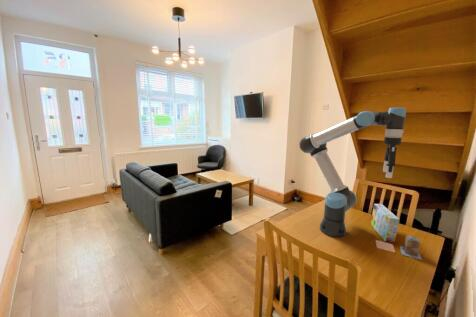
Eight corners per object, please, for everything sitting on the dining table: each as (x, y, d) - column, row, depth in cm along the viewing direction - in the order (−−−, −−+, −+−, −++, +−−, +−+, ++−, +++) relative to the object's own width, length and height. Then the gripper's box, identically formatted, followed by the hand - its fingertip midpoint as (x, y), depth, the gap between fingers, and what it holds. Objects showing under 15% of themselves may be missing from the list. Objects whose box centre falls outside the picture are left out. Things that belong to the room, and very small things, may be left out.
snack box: (396, 243, 117) (400, 219, 114) (385, 242, 118) (389, 218, 115) (379, 224, 138) (382, 203, 135) (369, 223, 139) (372, 202, 136)
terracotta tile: (376, 248, 113) (377, 247, 113) (375, 240, 120) (375, 240, 120) (394, 252, 109) (395, 252, 109) (392, 244, 116) (392, 244, 116)
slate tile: (402, 254, 108) (402, 254, 108) (399, 246, 114) (399, 245, 114) (421, 260, 104) (422, 259, 104) (417, 251, 111) (418, 250, 111)
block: (405, 253, 108) (408, 239, 106) (403, 248, 112) (406, 234, 111) (417, 256, 106) (420, 242, 104) (415, 251, 110) (418, 237, 108)
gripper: (406, 139, 99) (399, 181, 103) (397, 135, 120) (392, 170, 125) (387, 138, 103) (381, 179, 107) (382, 134, 124) (377, 169, 128)
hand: (387, 174), depth 116 cm, fingers open, 13 cm apart
